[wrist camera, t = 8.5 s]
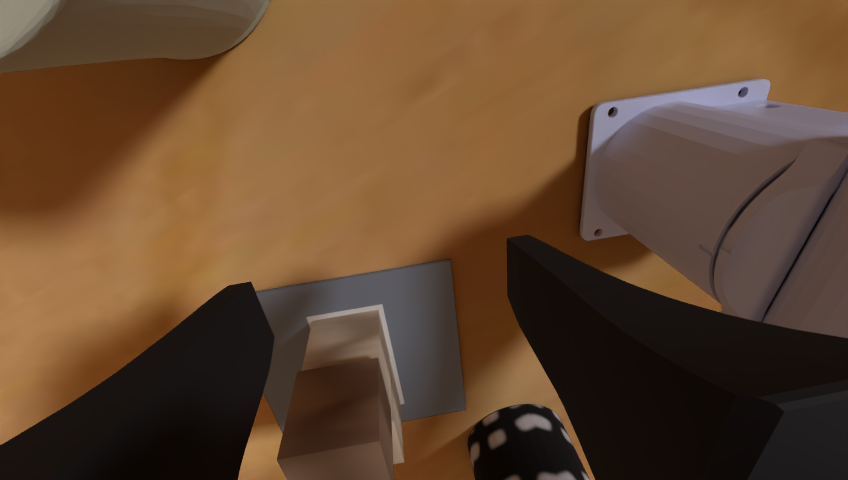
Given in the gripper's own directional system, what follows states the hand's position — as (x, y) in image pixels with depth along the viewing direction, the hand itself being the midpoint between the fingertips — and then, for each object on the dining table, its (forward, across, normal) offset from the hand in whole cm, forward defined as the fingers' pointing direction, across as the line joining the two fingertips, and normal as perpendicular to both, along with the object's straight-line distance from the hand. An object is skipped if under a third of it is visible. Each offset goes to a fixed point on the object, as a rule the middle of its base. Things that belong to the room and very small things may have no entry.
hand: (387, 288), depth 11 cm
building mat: (+10, +4, +13) cm, 17 cm away
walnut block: (+6, +4, +10) cm, 12 cm away
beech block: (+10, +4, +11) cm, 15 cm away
